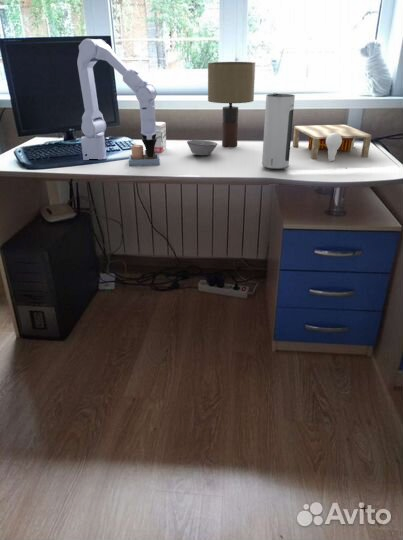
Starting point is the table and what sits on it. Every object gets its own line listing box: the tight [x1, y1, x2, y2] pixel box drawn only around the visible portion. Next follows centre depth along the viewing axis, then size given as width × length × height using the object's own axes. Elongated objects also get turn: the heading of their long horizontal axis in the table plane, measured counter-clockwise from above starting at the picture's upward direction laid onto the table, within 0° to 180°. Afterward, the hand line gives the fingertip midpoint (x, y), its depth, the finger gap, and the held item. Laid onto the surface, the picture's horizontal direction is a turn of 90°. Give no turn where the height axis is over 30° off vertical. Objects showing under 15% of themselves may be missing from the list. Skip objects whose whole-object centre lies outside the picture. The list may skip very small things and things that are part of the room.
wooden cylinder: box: [130, 144, 145, 160], centre depth 169 cm, size 5×5×6 cm
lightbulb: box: [326, 133, 342, 162], centre depth 167 cm, size 6×6×11 cm
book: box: [307, 136, 356, 152], centre depth 192 cm, size 18×13×5 cm
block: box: [144, 149, 156, 159], centre depth 169 cm, size 4×4×4 cm
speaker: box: [261, 92, 296, 170], centre depth 159 cm, size 11×10×26 cm
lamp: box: [207, 61, 256, 148], centre depth 189 cm, size 20×20×35 cm
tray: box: [128, 153, 161, 167], centre depth 170 cm, size 12×9×2 cm
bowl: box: [186, 139, 219, 156], centre depth 180 cm, size 13×13×5 cm
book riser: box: [292, 124, 372, 160], centre depth 184 cm, size 24×26×9 cm
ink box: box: [154, 121, 167, 154], centre depth 186 cm, size 9×5×12 cm, turn 168°
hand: (150, 154), depth 169 cm, fingers open, 7 cm apart
